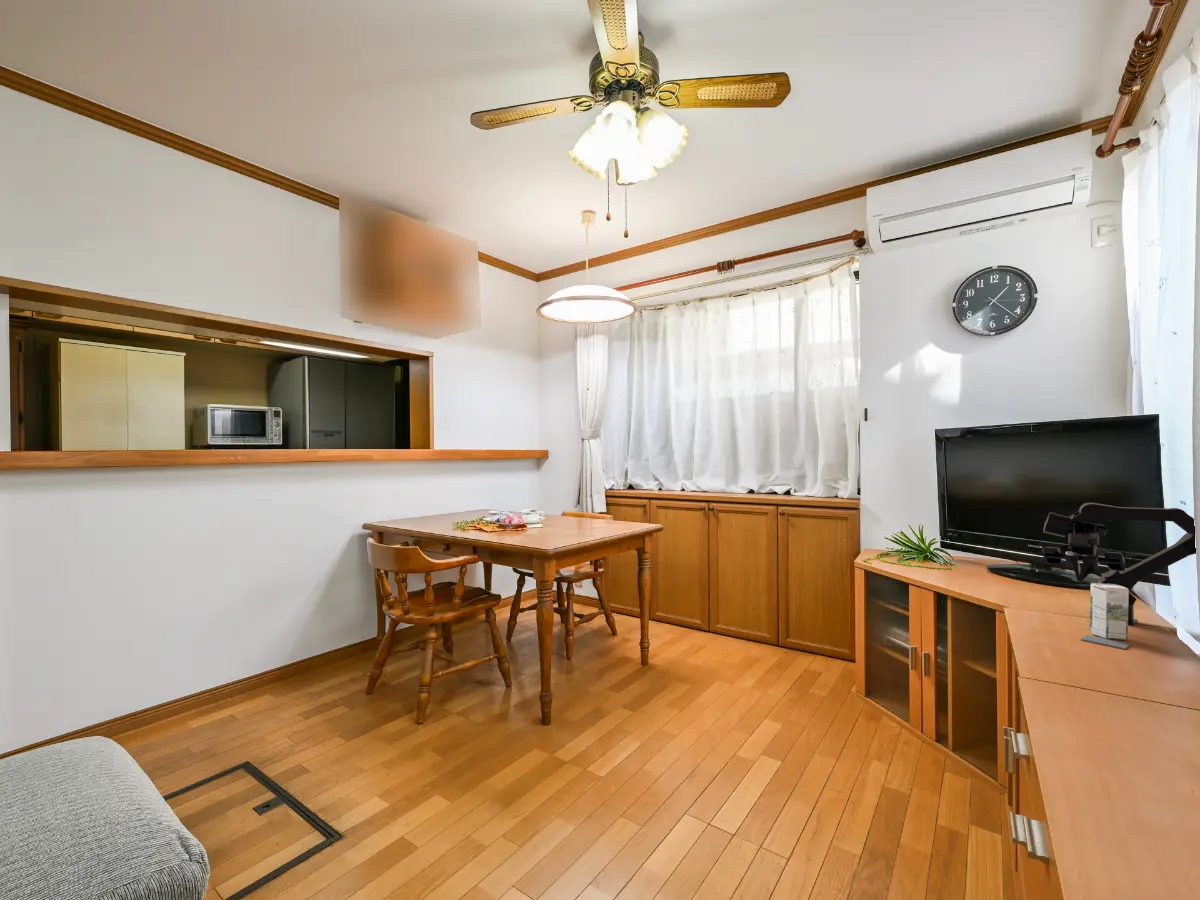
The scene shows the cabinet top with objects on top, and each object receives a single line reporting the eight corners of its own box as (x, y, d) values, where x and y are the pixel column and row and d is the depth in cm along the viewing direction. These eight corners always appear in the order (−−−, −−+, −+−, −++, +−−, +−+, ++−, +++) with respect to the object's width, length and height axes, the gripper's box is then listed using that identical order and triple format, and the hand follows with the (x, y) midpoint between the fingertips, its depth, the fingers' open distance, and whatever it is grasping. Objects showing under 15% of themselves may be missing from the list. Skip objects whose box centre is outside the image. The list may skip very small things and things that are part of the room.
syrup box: (1111, 634, 155) (1111, 583, 155) (1129, 640, 149) (1129, 587, 149) (1089, 633, 155) (1089, 582, 156) (1106, 639, 149) (1106, 586, 150)
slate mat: (1086, 636, 153) (1086, 634, 153) (1130, 645, 146) (1130, 643, 146) (1080, 640, 150) (1080, 638, 150) (1125, 649, 143) (1125, 648, 143)
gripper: (1041, 521, 174) (1034, 560, 167) (1121, 525, 160) (1117, 568, 152) (1049, 543, 179) (1042, 582, 172) (1127, 549, 164) (1123, 591, 157)
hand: (1079, 580), depth 163 cm, fingers closed
